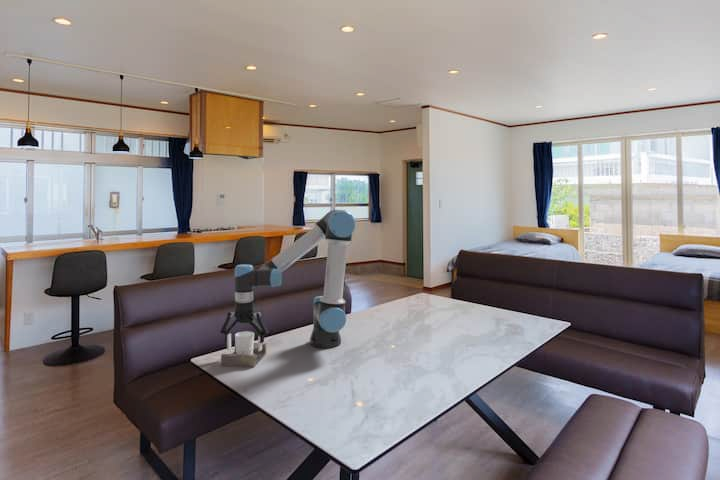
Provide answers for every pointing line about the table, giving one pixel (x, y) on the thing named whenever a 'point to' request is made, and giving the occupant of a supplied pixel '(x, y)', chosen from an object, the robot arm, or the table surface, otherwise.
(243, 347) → the white cup
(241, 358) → the port dock
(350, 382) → the table surface
